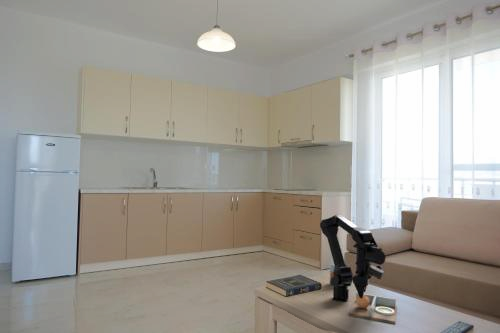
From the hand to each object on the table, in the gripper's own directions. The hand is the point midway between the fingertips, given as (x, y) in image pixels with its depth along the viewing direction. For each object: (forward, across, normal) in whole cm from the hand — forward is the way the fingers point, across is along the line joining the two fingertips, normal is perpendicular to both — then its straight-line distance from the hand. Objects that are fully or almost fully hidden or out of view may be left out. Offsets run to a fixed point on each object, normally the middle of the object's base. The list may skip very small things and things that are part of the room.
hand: (362, 295), depth 150 cm
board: (+7, 0, -5) cm, 8 cm away
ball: (+3, 0, 0) cm, 3 cm away
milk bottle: (+7, +32, +17) cm, 37 cm away
